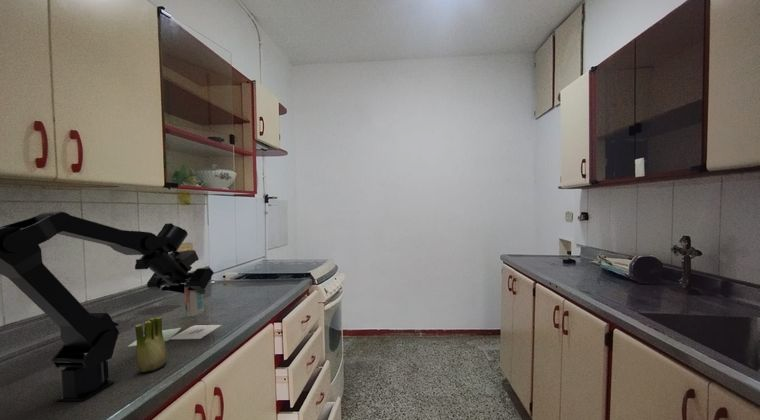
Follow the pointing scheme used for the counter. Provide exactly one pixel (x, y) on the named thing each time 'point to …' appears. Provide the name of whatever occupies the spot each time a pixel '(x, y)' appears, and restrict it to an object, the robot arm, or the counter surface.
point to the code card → (195, 332)
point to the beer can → (193, 302)
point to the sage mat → (166, 335)
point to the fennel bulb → (150, 345)
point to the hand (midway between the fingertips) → (197, 292)
